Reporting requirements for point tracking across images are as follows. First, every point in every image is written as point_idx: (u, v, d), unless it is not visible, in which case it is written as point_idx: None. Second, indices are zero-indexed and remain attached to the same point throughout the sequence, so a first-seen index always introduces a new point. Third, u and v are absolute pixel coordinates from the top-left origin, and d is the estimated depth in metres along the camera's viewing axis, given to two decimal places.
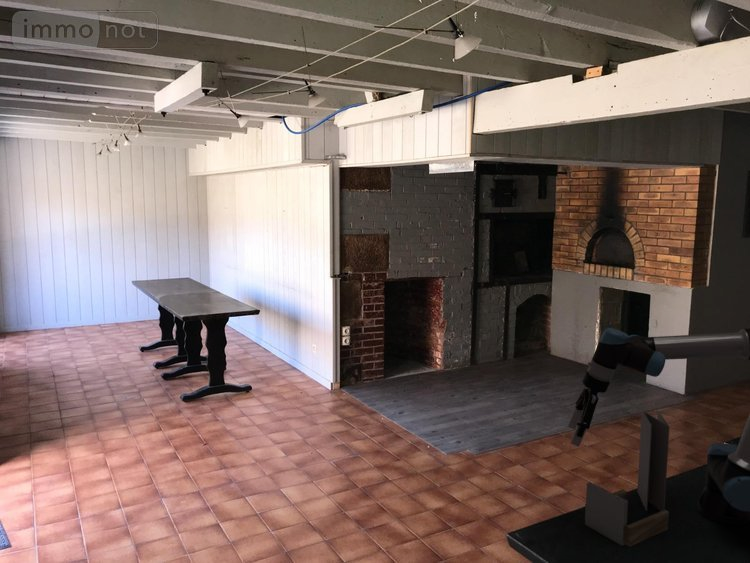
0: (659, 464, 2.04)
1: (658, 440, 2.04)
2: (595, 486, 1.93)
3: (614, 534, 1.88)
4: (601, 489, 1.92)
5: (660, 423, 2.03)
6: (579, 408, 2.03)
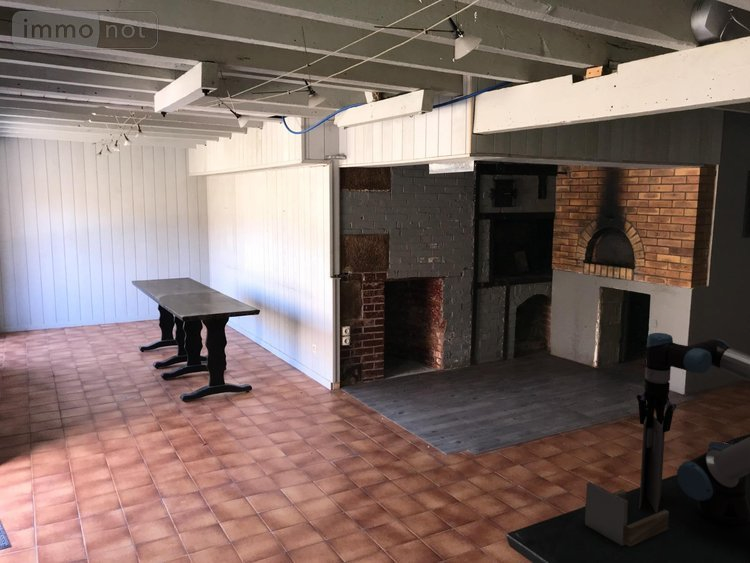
0: (655, 464, 2.04)
1: (655, 440, 2.04)
2: (595, 486, 1.93)
3: (614, 534, 1.88)
4: (601, 489, 1.92)
5: (657, 423, 2.03)
6: (649, 425, 2.08)
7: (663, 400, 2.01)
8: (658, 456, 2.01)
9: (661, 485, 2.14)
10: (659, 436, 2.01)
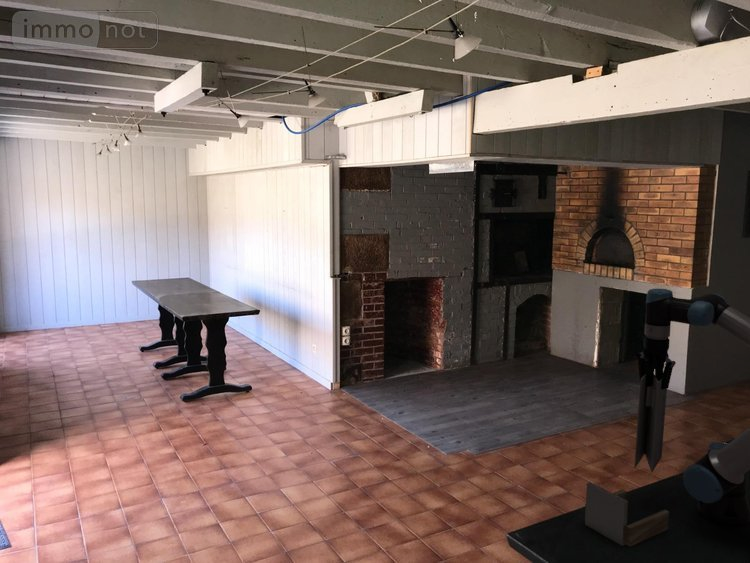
0: (652, 422, 2.01)
1: (654, 397, 2.01)
2: (595, 486, 1.93)
3: (614, 534, 1.88)
4: (601, 489, 1.92)
5: (655, 380, 2.00)
6: (649, 383, 2.04)
7: (662, 357, 1.98)
8: (655, 413, 1.98)
9: (662, 446, 2.10)
10: (656, 393, 1.97)
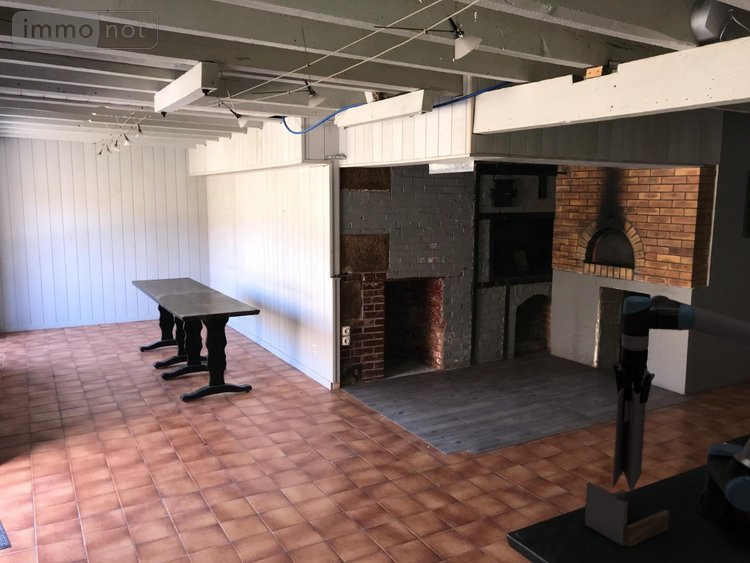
0: (631, 438, 1.89)
1: (632, 412, 1.89)
2: (595, 486, 1.93)
3: (614, 534, 1.88)
4: (601, 489, 1.92)
5: (634, 394, 1.87)
6: (627, 397, 1.92)
7: (641, 369, 1.85)
8: (633, 429, 1.86)
9: (641, 463, 1.98)
10: (635, 407, 1.85)
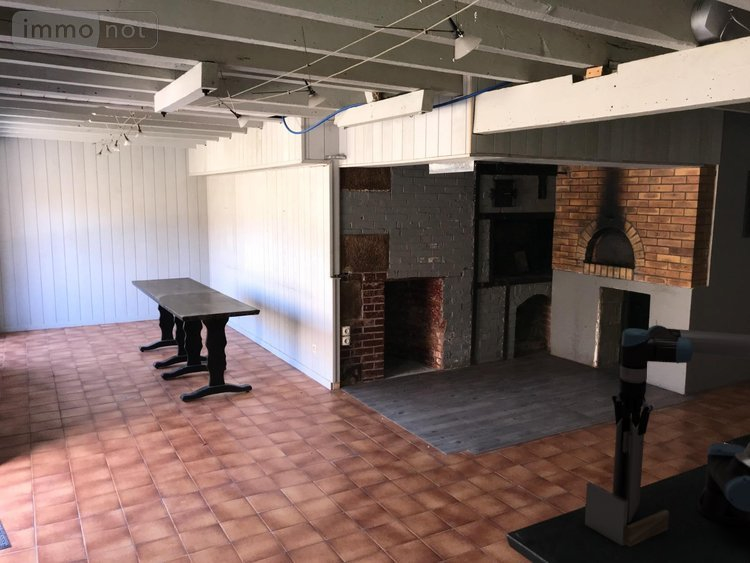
0: (630, 469, 1.90)
1: None
2: (595, 486, 1.93)
3: (614, 534, 1.88)
4: (601, 489, 1.92)
5: (632, 425, 1.89)
6: (626, 428, 1.93)
7: (639, 401, 1.87)
8: (632, 461, 1.87)
9: (639, 493, 1.99)
10: (633, 439, 1.86)
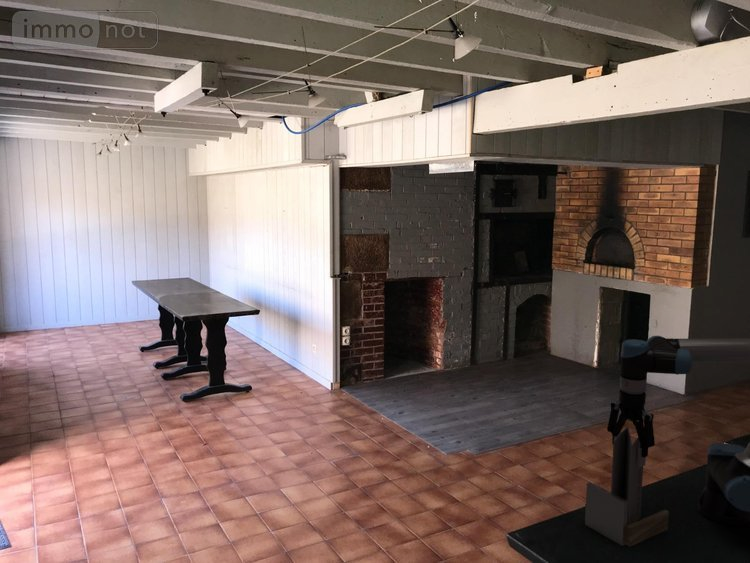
0: None
1: (628, 459, 1.91)
2: (595, 486, 1.93)
3: (614, 534, 1.88)
4: (601, 489, 1.92)
5: (630, 441, 1.90)
6: (617, 433, 1.96)
7: (638, 411, 1.88)
8: (629, 476, 1.88)
9: (640, 507, 2.00)
10: (630, 455, 1.87)
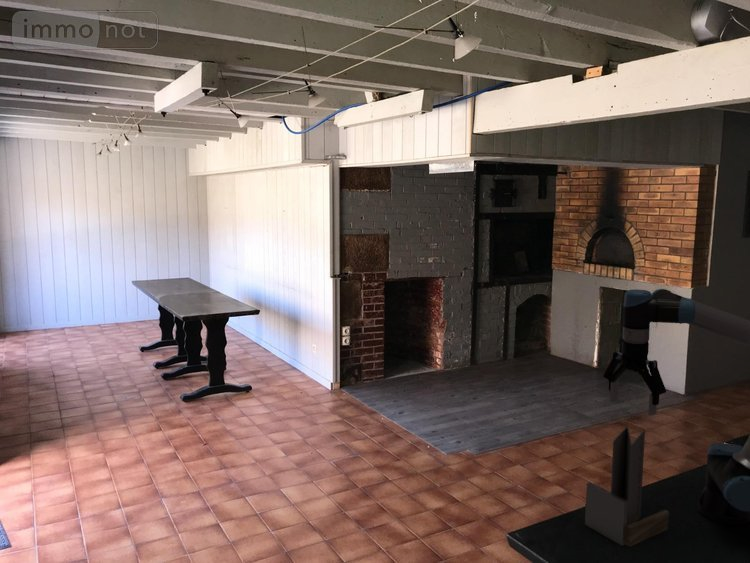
0: (627, 484, 1.91)
1: (628, 459, 1.91)
2: (595, 486, 1.93)
3: (614, 534, 1.88)
4: (601, 489, 1.92)
5: (629, 441, 1.90)
6: (613, 379, 1.97)
7: (641, 361, 1.86)
8: (629, 476, 1.88)
9: (640, 507, 2.00)
10: (630, 455, 1.87)
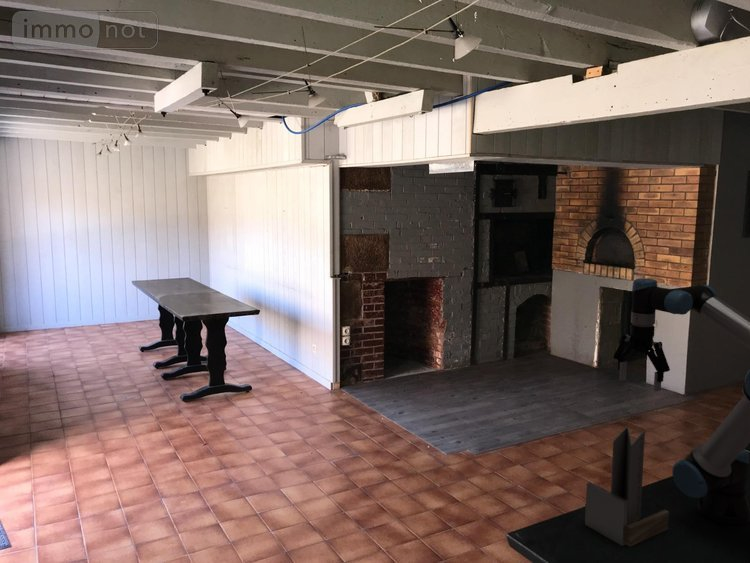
0: (627, 484, 1.91)
1: (628, 459, 1.91)
2: (595, 486, 1.93)
3: (614, 534, 1.88)
4: (601, 489, 1.92)
5: (629, 441, 1.90)
6: (622, 360, 2.17)
7: (648, 342, 2.07)
8: (629, 476, 1.88)
9: (640, 507, 2.00)
10: (630, 455, 1.87)
